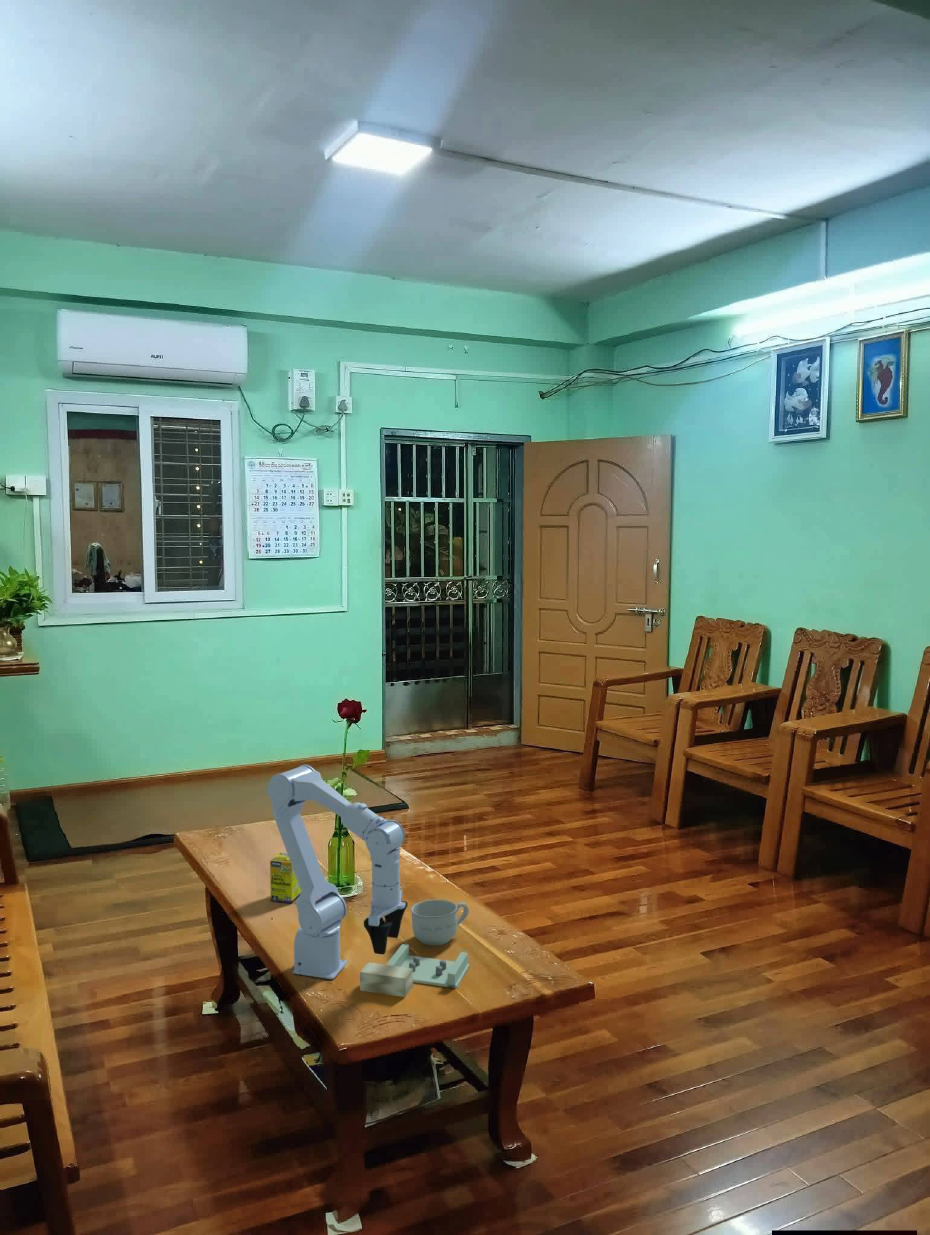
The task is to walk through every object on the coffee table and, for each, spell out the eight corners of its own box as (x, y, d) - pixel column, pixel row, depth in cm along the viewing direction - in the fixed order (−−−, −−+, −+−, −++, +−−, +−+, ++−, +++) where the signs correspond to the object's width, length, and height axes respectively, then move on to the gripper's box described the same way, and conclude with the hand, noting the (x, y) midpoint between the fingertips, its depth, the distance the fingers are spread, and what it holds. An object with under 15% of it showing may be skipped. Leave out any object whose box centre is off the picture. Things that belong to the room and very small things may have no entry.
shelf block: (360, 991, 193) (359, 971, 193) (368, 981, 198) (368, 962, 197) (405, 998, 191) (405, 978, 190) (412, 987, 195) (412, 968, 194)
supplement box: (270, 902, 238) (269, 860, 236) (280, 892, 243) (279, 852, 242) (292, 904, 236) (291, 862, 235) (301, 895, 242) (300, 854, 241)
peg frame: (384, 977, 198) (384, 964, 198) (400, 956, 208) (400, 943, 208) (456, 988, 194) (456, 974, 194) (469, 966, 204) (469, 953, 203)
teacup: (416, 953, 210) (416, 918, 209) (406, 932, 220) (406, 899, 219) (476, 945, 214) (476, 912, 213) (463, 925, 224) (463, 893, 223)
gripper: (392, 897, 184) (392, 963, 185) (415, 870, 198) (416, 932, 199) (358, 893, 186) (359, 958, 187) (384, 867, 199) (384, 928, 201)
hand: (386, 945), depth 193 cm, fingers open, 7 cm apart
